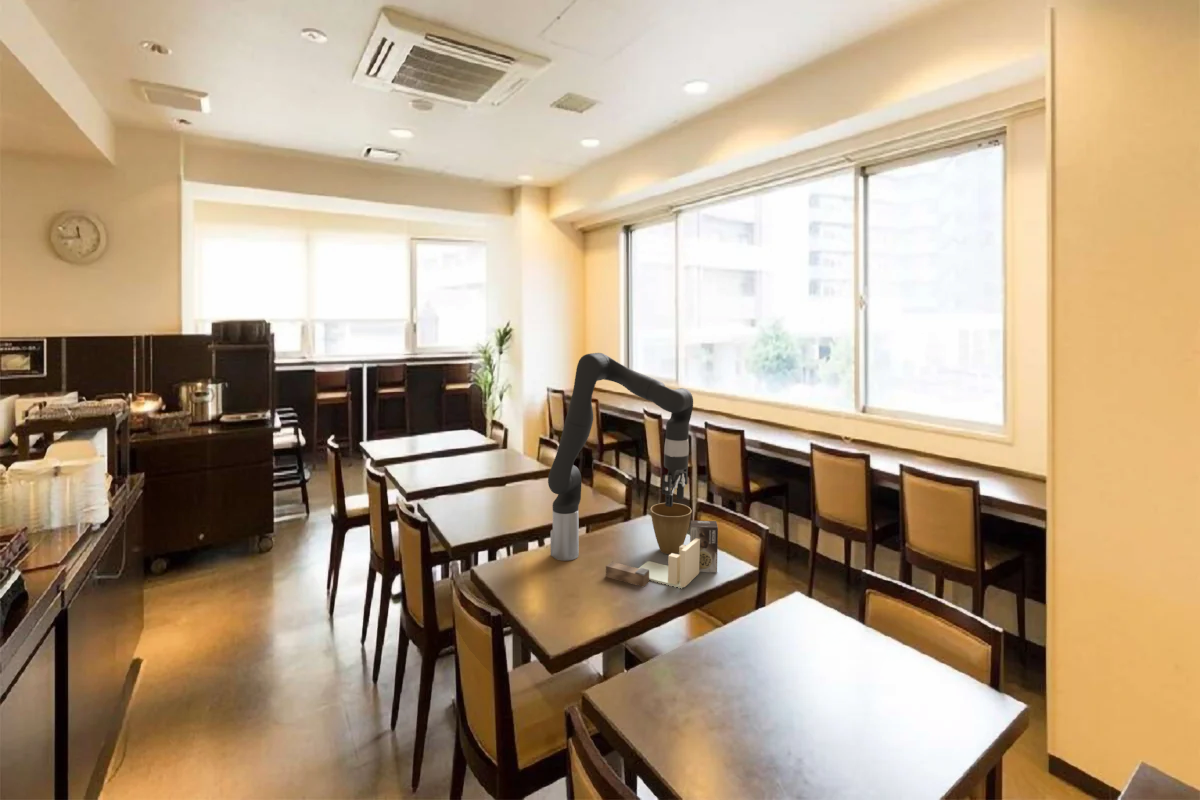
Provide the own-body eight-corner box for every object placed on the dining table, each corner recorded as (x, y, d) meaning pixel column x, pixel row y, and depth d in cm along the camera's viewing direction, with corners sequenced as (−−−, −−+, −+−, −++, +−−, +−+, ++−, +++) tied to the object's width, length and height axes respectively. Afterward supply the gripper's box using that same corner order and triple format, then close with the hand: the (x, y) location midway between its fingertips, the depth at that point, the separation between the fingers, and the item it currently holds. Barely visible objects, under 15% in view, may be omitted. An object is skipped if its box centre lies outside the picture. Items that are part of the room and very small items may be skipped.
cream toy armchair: (631, 575, 199) (632, 539, 197) (648, 563, 209) (648, 528, 207) (684, 589, 189) (685, 551, 187) (698, 575, 199) (700, 538, 197)
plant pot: (644, 545, 225) (645, 504, 223) (681, 541, 229) (682, 501, 226) (657, 560, 211) (658, 517, 208) (697, 557, 214) (698, 514, 212)
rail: (605, 577, 198) (605, 564, 198) (611, 573, 202) (612, 560, 201) (643, 587, 191) (643, 574, 190) (649, 582, 194) (649, 569, 194)
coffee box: (715, 565, 207) (717, 520, 205) (717, 573, 201) (718, 527, 199) (689, 564, 208) (690, 519, 206) (689, 572, 202) (691, 526, 200)
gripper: (674, 446, 194) (672, 494, 197) (655, 455, 182) (653, 506, 185) (696, 449, 190) (694, 498, 193) (678, 459, 178) (676, 511, 181)
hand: (674, 502), depth 189 cm, fingers open, 8 cm apart
